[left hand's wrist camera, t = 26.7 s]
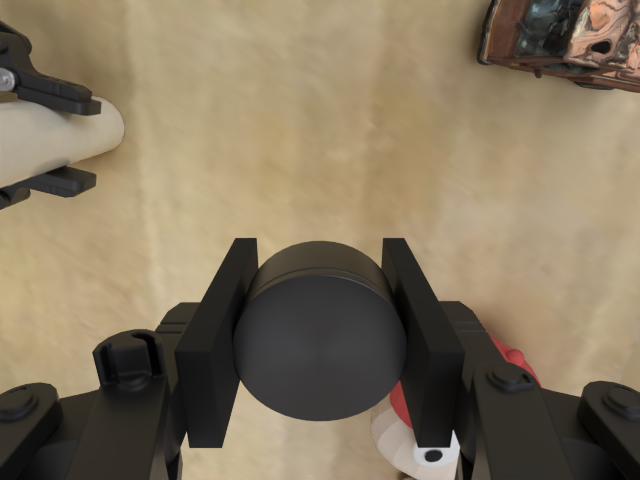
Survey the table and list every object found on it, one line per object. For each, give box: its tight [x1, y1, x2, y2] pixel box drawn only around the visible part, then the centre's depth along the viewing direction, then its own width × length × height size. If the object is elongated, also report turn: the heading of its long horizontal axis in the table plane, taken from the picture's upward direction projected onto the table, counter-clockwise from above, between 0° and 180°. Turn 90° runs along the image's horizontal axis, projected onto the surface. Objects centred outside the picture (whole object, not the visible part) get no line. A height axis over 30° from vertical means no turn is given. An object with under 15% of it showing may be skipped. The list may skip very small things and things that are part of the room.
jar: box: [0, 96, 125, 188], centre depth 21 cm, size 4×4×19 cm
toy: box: [370, 337, 542, 480], centre depth 38 cm, size 18×10×30 cm
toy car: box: [477, 0, 640, 93], centre depth 25 cm, size 6×12×7 cm, turn 88°
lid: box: [232, 241, 408, 421], centre depth 11 cm, size 5×5×2 cm
